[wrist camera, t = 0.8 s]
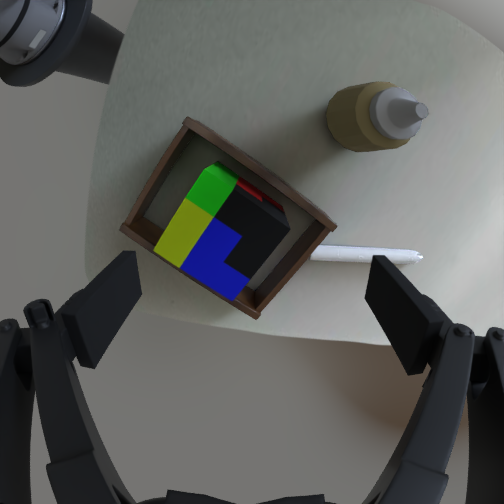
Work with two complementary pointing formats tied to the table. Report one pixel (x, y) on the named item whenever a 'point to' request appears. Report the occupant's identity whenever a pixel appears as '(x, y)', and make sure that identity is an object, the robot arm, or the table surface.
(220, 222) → the puzzle toy
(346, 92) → the squeeze bottle
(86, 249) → the table surface
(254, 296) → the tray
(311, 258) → the marker
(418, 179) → the table surface
